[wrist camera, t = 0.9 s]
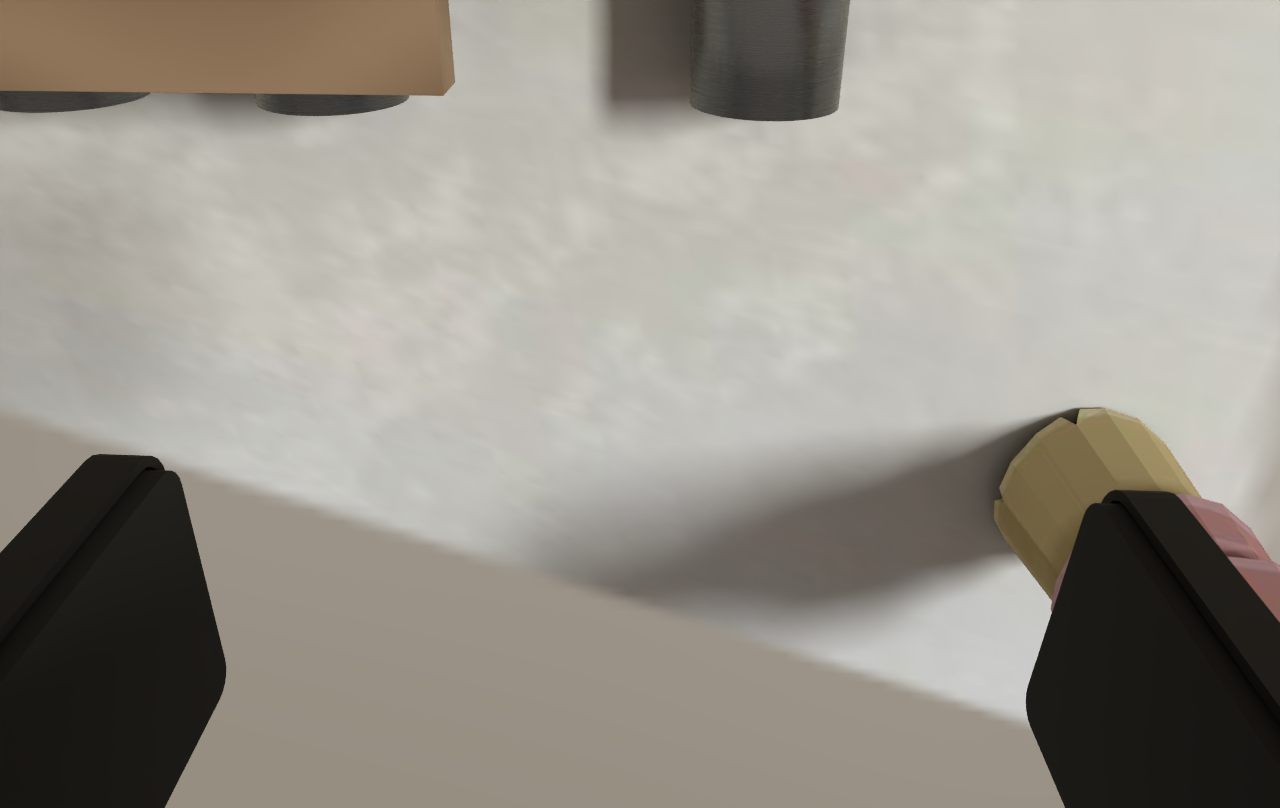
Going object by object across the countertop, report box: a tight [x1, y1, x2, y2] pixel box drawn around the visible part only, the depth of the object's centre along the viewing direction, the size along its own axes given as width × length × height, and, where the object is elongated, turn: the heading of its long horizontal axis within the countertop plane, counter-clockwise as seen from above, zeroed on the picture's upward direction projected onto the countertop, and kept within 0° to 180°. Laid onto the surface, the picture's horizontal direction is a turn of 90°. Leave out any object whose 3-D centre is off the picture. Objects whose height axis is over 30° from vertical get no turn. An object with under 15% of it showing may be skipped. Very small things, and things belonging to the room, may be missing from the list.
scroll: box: [994, 408, 1280, 622], centre depth 26 cm, size 8×8×20 cm
